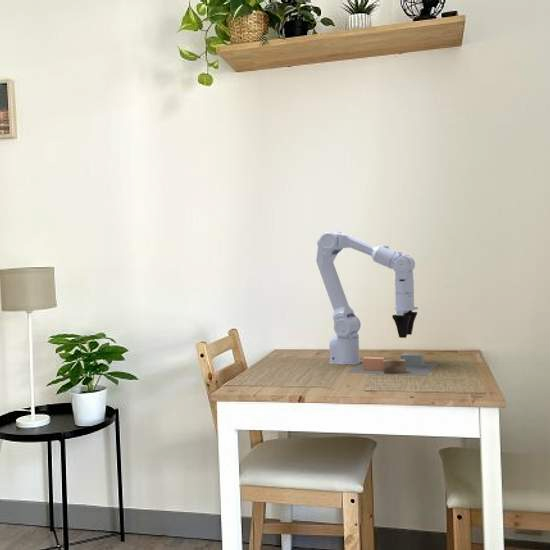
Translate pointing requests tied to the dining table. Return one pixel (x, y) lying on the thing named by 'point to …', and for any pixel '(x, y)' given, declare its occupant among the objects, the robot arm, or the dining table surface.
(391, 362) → the brick walnut
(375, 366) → the brick terracotta
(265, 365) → the dining table surface
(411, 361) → the brick slate
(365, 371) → the felt mat
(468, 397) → the dining table surface
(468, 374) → the dining table surface
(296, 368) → the dining table surface
